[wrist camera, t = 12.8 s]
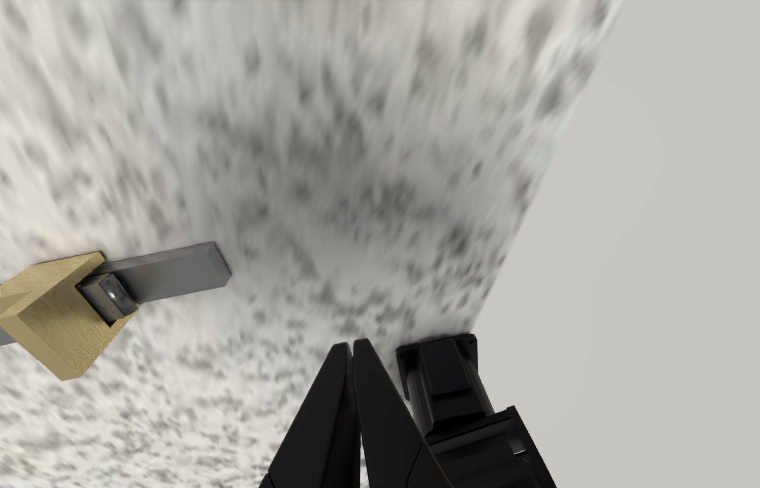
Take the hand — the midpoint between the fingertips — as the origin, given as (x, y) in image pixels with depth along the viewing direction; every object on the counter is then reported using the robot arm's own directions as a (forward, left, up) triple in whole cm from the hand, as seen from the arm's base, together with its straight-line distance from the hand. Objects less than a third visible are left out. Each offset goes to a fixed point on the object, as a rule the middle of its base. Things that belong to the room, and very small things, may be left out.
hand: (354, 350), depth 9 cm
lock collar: (-2, +17, -11) cm, 20 cm away
